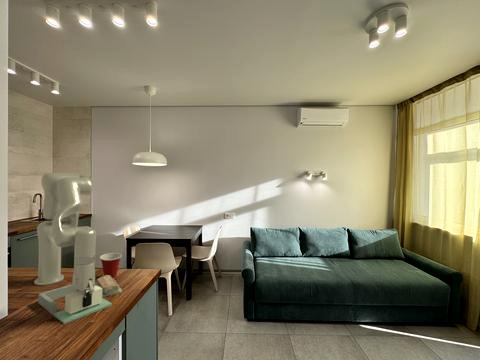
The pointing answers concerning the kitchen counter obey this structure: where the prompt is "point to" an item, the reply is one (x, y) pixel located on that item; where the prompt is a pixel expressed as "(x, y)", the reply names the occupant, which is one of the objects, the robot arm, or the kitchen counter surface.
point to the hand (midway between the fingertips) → (83, 303)
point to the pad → (80, 312)
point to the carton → (81, 300)
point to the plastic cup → (110, 263)
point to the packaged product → (108, 286)
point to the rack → (54, 297)
